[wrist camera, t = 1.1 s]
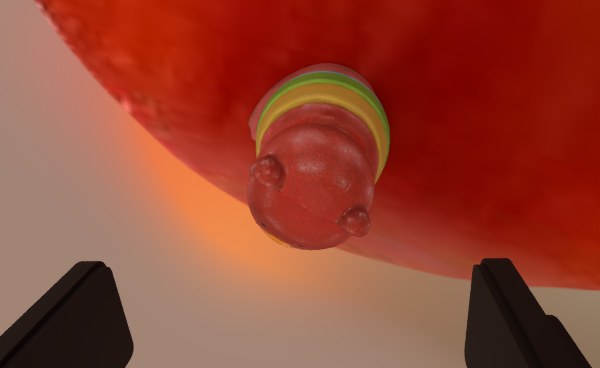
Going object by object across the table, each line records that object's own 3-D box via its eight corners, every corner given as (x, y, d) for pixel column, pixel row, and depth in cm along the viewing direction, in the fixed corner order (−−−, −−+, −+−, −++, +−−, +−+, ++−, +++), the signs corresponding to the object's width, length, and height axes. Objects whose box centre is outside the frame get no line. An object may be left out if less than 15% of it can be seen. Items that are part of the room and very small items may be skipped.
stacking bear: (240, 128, 37) (157, 226, 21) (307, 30, 33) (270, 54, 17) (337, 197, 38) (331, 337, 22) (412, 110, 35) (470, 204, 18)
